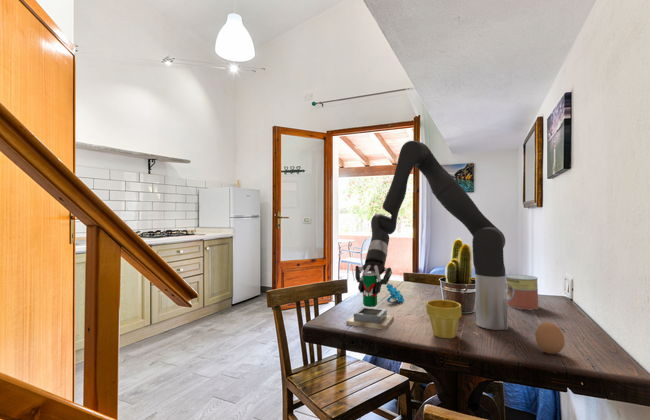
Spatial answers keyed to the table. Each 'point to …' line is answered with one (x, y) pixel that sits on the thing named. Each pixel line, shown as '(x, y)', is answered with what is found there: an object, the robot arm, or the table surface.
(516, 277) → the canned food
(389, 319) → the board
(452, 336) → the plant pot
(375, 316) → the collar
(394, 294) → the blue knobbly figurine
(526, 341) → the table surface
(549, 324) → the egg
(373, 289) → the soda can
